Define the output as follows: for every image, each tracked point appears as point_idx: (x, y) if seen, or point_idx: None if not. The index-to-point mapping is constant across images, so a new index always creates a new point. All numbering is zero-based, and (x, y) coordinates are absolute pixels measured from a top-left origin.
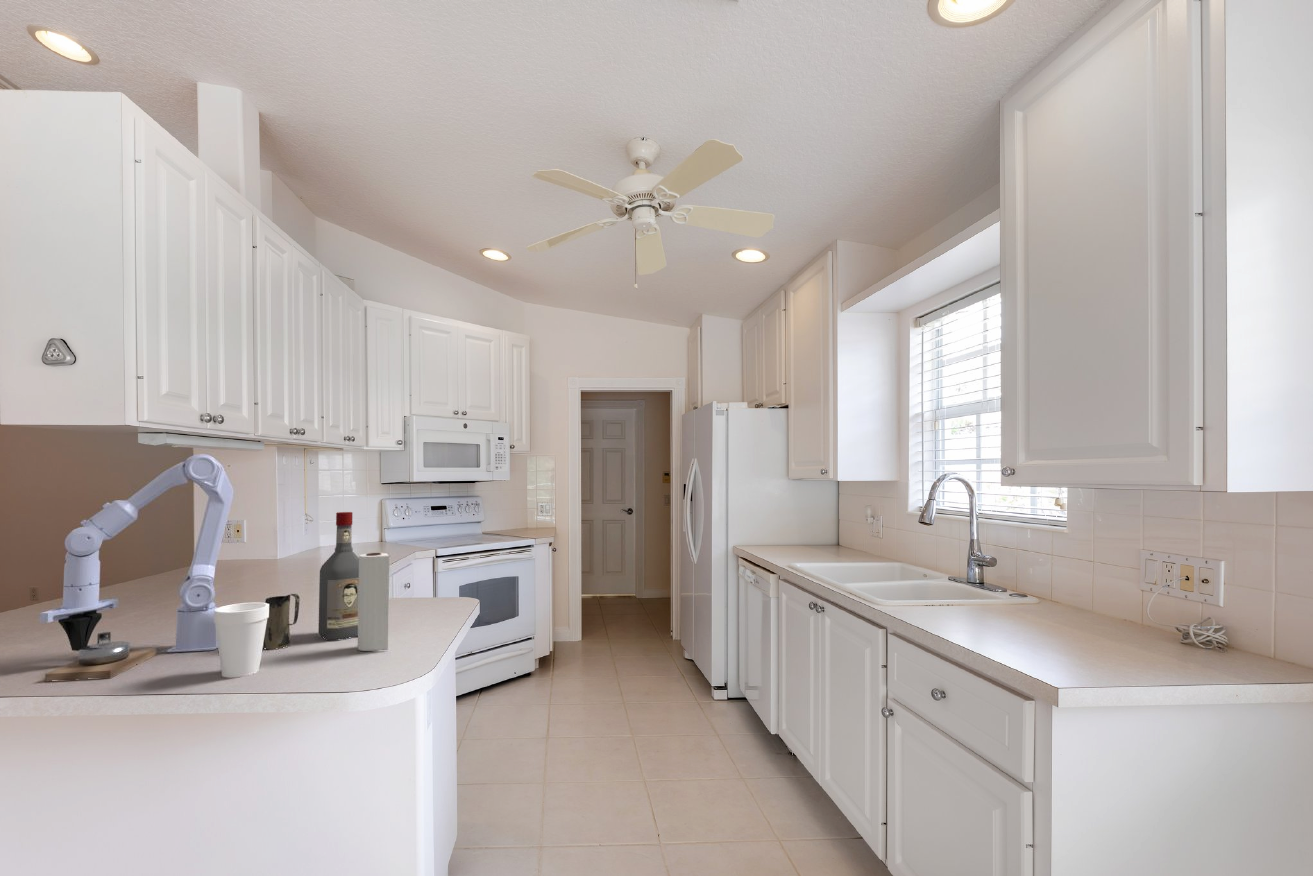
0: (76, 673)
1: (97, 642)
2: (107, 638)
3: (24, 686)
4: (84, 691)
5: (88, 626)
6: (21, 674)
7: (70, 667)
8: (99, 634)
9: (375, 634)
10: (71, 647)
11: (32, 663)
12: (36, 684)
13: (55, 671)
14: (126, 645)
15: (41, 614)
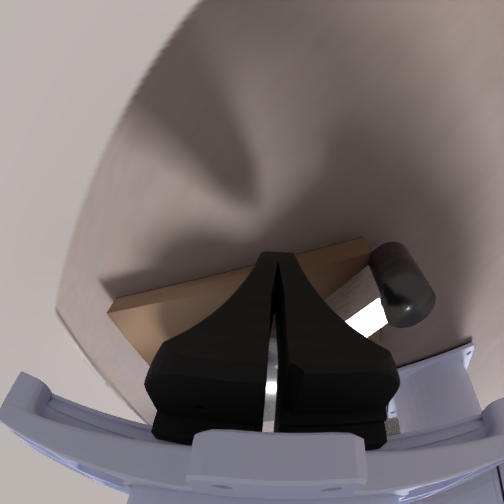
0: (148, 362)
1: (379, 271)
2: (369, 331)
3: (82, 280)
4: (128, 388)
5: (276, 399)
6: (130, 151)
7: (166, 328)
8: (385, 310)
9: None
10: (257, 260)
11: (263, 24)
12: (100, 293)
13: (128, 320)
14: (268, 420)
15: (7, 418)
